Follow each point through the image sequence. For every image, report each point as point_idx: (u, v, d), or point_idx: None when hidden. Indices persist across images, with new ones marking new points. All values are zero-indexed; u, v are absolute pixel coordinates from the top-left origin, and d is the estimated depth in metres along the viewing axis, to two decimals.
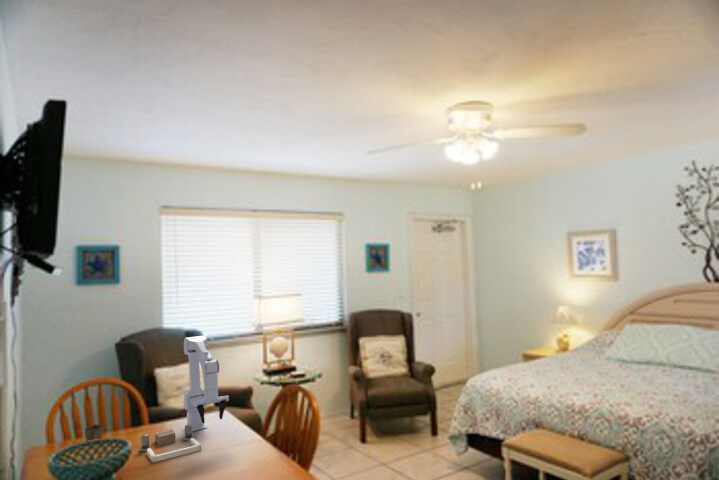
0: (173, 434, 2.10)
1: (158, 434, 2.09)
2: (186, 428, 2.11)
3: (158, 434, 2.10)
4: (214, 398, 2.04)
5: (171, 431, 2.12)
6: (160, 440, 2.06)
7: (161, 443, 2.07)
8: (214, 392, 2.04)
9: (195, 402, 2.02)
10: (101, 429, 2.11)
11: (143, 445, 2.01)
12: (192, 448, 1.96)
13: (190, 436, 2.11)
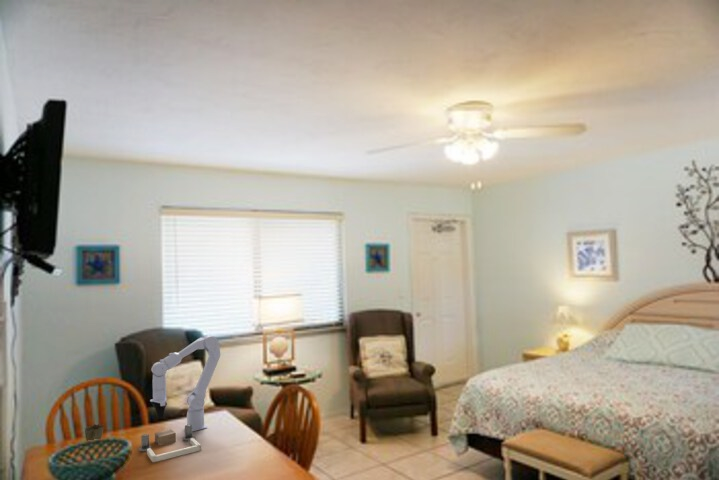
0: (173, 434, 2.10)
1: (159, 434, 2.09)
2: (186, 428, 2.11)
3: (158, 434, 2.09)
4: (153, 398, 2.17)
5: (171, 431, 2.12)
6: (161, 440, 2.06)
7: (162, 443, 2.07)
8: (153, 392, 2.18)
9: None
10: (101, 429, 2.11)
11: (143, 445, 2.01)
12: (192, 448, 1.96)
13: (190, 436, 2.11)
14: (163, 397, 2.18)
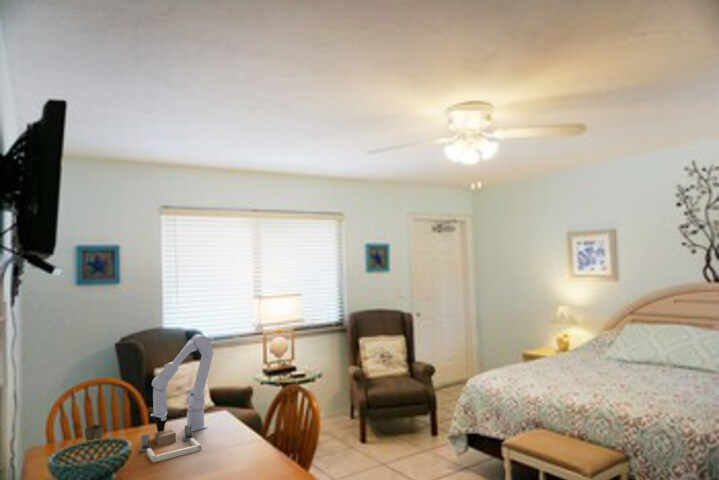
0: (173, 434, 2.10)
1: (159, 434, 2.09)
2: (186, 428, 2.11)
3: (158, 434, 2.09)
4: (154, 412, 2.17)
5: (171, 431, 2.12)
6: (161, 440, 2.06)
7: (162, 443, 2.07)
8: (154, 406, 2.17)
9: None
10: (101, 429, 2.11)
11: (143, 445, 2.01)
12: (192, 448, 1.96)
13: (190, 436, 2.11)
14: (164, 411, 2.17)
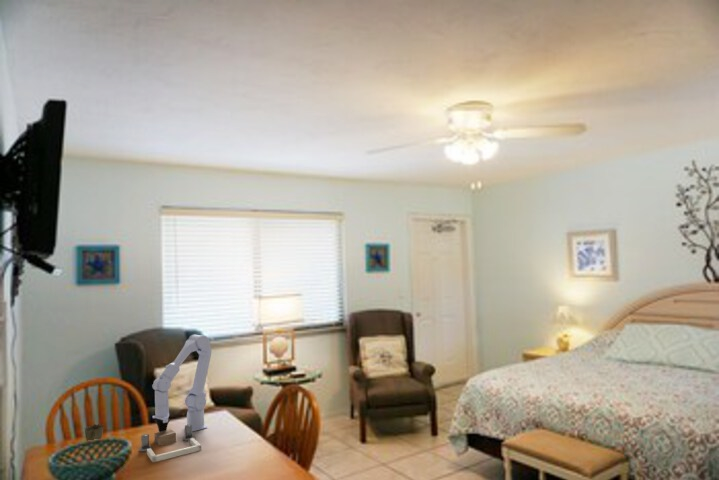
0: (174, 434, 2.10)
1: (159, 434, 2.09)
2: (186, 428, 2.11)
3: (158, 434, 2.09)
4: (155, 414, 2.13)
5: (171, 431, 2.12)
6: (161, 440, 2.06)
7: (162, 443, 2.07)
8: (156, 408, 2.13)
9: None
10: (101, 429, 2.11)
11: (143, 445, 2.01)
12: (192, 448, 1.96)
13: (190, 436, 2.11)
14: (166, 413, 2.14)
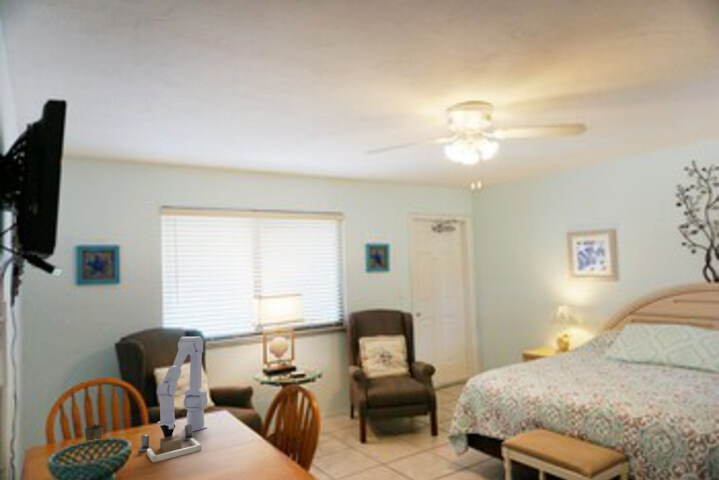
0: (179, 440, 2.01)
1: (164, 440, 2.00)
2: (186, 428, 2.11)
3: (163, 440, 2.01)
4: (161, 420, 2.05)
5: (176, 437, 2.03)
6: (165, 446, 1.98)
7: (166, 450, 1.98)
8: (161, 414, 2.05)
9: None
10: (101, 429, 2.11)
11: (143, 445, 2.01)
12: (192, 448, 1.96)
13: (190, 436, 2.11)
14: (171, 419, 2.05)
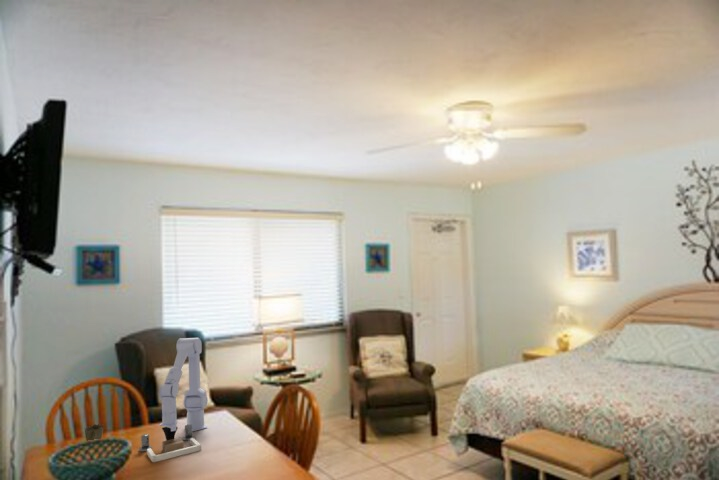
0: (181, 443, 1.98)
1: (166, 443, 1.97)
2: (186, 428, 2.11)
3: (165, 443, 1.98)
4: (163, 422, 2.02)
5: (179, 440, 2.00)
6: (168, 449, 1.95)
7: None
8: (163, 416, 2.02)
9: None
10: (101, 429, 2.11)
11: (143, 445, 2.01)
12: (192, 448, 1.96)
13: (190, 436, 2.11)
14: (173, 421, 2.02)
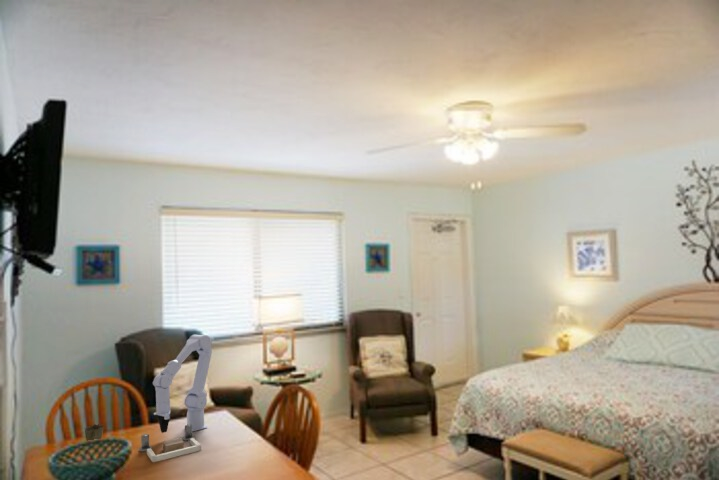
0: (181, 443, 1.98)
1: (166, 443, 1.97)
2: (186, 428, 2.11)
3: (165, 443, 1.98)
4: (157, 411, 2.12)
5: (179, 440, 2.00)
6: (167, 449, 1.95)
7: None
8: (157, 405, 2.12)
9: None
10: (101, 429, 2.11)
11: (143, 445, 2.01)
12: (192, 448, 1.96)
13: (190, 436, 2.11)
14: (167, 410, 2.12)
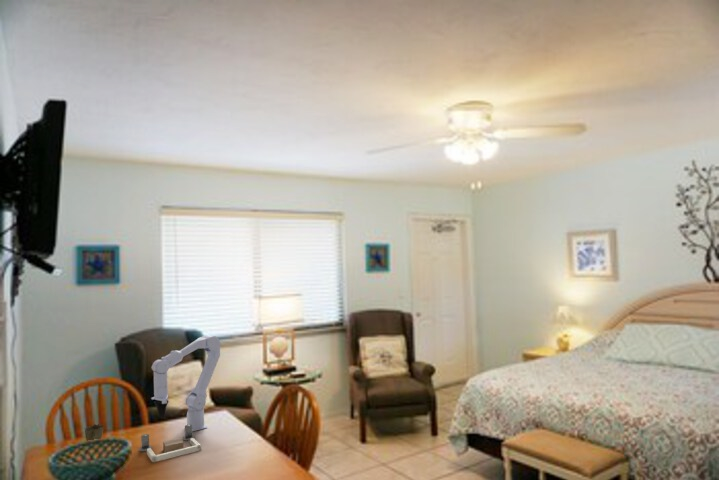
0: (181, 443, 1.98)
1: (166, 443, 1.97)
2: (186, 428, 2.11)
3: (165, 443, 1.98)
4: (154, 396, 2.15)
5: (179, 440, 2.00)
6: (167, 449, 1.95)
7: None
8: (154, 390, 2.15)
9: None
10: (101, 429, 2.11)
11: (143, 445, 2.01)
12: (192, 448, 1.96)
13: (190, 436, 2.11)
14: (164, 395, 2.16)
